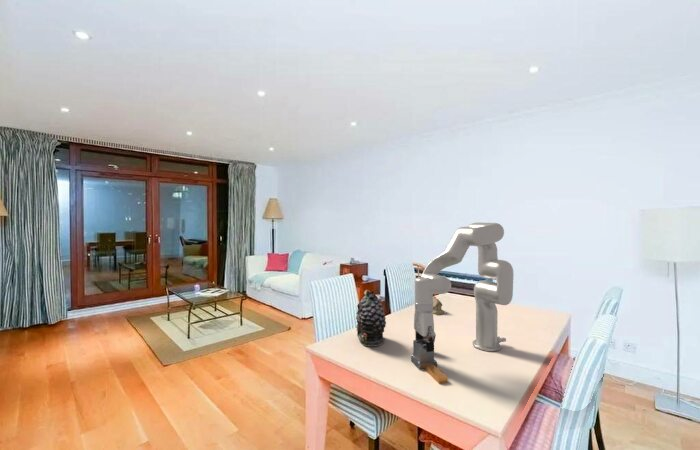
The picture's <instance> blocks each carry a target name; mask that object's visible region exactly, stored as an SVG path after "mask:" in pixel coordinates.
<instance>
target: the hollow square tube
mask: <svg viewBox="0 0 700 450" xmlns="http://www.w3.org/2000/svg"><path fill="white" fill-rule="evenodd" d="M412 342H413V343H412V344H413V346H412V347H413V348H412V349H413V351H412V352H413V355H412V356H413V357H415V358H416V359H417V360H418V361H419V362H420V363H422V362H431V361H434V359H435V350H434V351H431V352H427V351H426V342H427V339H421V340H415V339H413V341H412Z"/></svg>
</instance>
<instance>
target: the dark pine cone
mask: <svg viewBox="0 0 700 450" xmlns="http://www.w3.org/2000/svg"><path fill="white" fill-rule="evenodd" d="M375 294H376V293H375V291H370V290H369V289H366V290H364V292H363V295H364V296H363V297H362V298H361V300H360V301H359V302H358V303H357V306H356V307H357V310H356V311H357V312H356V313H355V314H356V316H355V319H356V323H357V324H356V325H355V328H356V332H357V333H356V334H357V335H356V336H357V337H358V340H359V342H360V343H361V345H363V346H366V347H377V346H381V345H383V344H384V341H385V339H384V338H385V337H384V334H383V333H384V332H385V328H386V327H387V322H386V313H385V312H384V307H383V304H382V302H381V300H380V299H379V297H378V296H377V295H375Z"/></svg>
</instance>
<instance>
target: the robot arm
mask: <svg viewBox="0 0 700 450" xmlns="http://www.w3.org/2000/svg"><path fill="white" fill-rule="evenodd" d="M504 235H505V230H504V227H503V225H501V224H500V223H498V222H473V223H472V222H471V223H470V224H469V225H468V226H460V227H458V228H457V229H456V230H455V231H454V232H453V235H452V236H451V238H450V240H449V242H448V243H447V246H446V247H445V249H444V250H443V251H442V252H441V253H440V254H438V255H437V256H436V257H434V258H433V259H432V260H430V262H428V263H427V265H426V267H425V268H424V270H423V272H422V274H421V275H420V276H419V277H416V278H415V279H414V317H413V318H414V319H413V320H414V321H413V328H414V332H415V333H416V340H421V339H423V337H425V336H426V339H427V342H426V351H427V352H431V351H434V352H435V341H436V336H437V334H436V331H435V323H434V322H435V320H434V314H433V312H432V311H433V297H434V295H444V294H447V293H449V292H450V291H451V289H452V282H451V280H450V279H449V278H448V277H447V276H444V275H439V274H440V272H441V271H443V270H444V269H446V268H448V267H452V266H455V265H457V264H459V263H461V262H462V261H463V258H464V257H465V255H466V253H467V251H468V249H469V248H470V247H472V246H473V247H477V250H478V251H477V255H478V258H477V273H478V275H479V277H482V278H484V279H488V280H479V281H477V282H476V283H475V284H474V287H473V294H474V295H473V296H474V300H475V339H474V340H472V347H474V348H476V349H478V350H481V351H485V352H498V351H500V350H501V348H502V345H501V343H504V342H505V343H506V342H507V338H506V337H500V336H498V314H499V313H498V308H497V305H500V306H508V305H509V304H510V303H511V302H512V300H513V297H514V296H513V295H514V268H513V265H512V264H511V263H510V262H509V261H507V260H503V259H498V247H497V244H496V243H498V242H499V241H501V240H502V239H503V237H504ZM491 280H494V281H491ZM495 280H496V282H495ZM429 336H431V337H430V338H428V337H429Z"/></svg>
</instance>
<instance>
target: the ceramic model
mask: <svg viewBox="0 0 700 450" xmlns="http://www.w3.org/2000/svg"><path fill="white" fill-rule="evenodd" d="M442 307H443V303H442V302H441V301H440V300H439V298H437V297H436V296H433V311H432V312H433V315H436V316H437V315H438V316H439V315H443V314H444V313H445V311H444V310H443V309H442Z"/></svg>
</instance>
